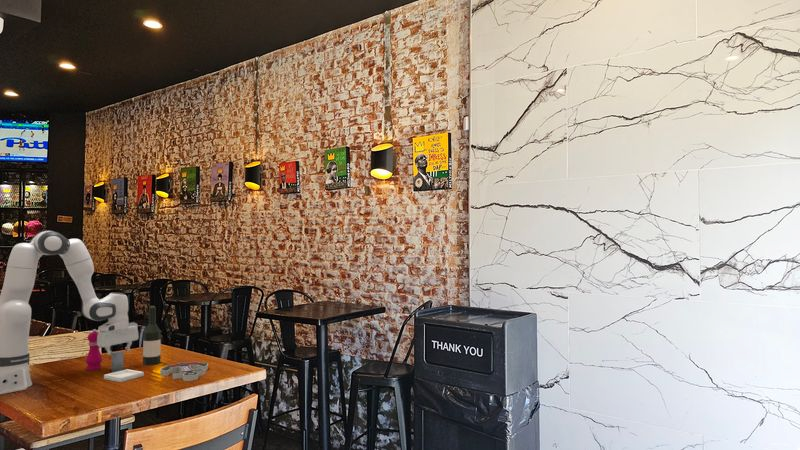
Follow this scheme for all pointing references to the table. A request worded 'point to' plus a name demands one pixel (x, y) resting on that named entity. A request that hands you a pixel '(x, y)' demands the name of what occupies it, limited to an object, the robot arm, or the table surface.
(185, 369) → the decorative sign
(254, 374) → the table surface
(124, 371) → the serving tray
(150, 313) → the wine bottle
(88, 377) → the table surface
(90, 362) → the pepper mill
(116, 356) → the grey cylinder
